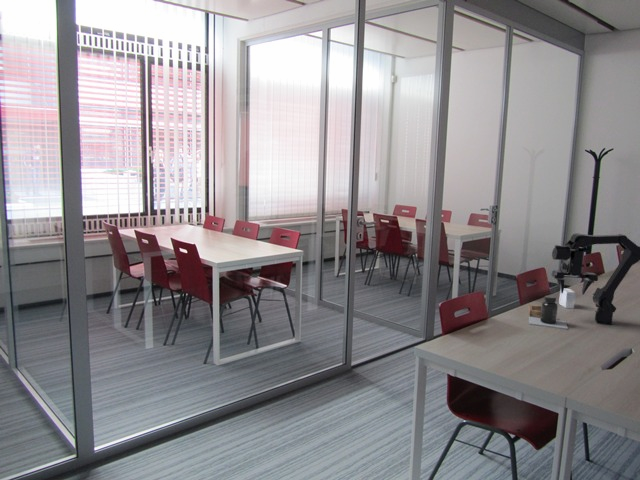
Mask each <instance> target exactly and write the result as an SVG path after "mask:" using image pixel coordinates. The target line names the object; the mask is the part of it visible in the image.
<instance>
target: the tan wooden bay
mask: <svg viewBox="0 0 640 480" xmlns="http://www.w3.org/2000/svg"><path fill="white" fill-rule="evenodd" d="M541 306H542V305H535V304H529V306H528V315H529V316H528V317H536V318H540V317H541Z"/></svg>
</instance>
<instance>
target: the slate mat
mask: <svg viewBox="0 0 640 480" xmlns="http://www.w3.org/2000/svg"><path fill="white" fill-rule="evenodd" d="M528 324H529V325H532V326H539V327H546V328H555V329H562V330H569V328H568V325H567V321H565V320H556V323H555V324H546V323H543V322H541V321H540V318H537V317H530V316H528Z"/></svg>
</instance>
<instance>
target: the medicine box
mask: <svg viewBox="0 0 640 480" xmlns="http://www.w3.org/2000/svg"><path fill="white" fill-rule="evenodd" d="M559 289H560V288H559ZM575 300H576V291H574V290H572V289H570V288H565V287H564V290H563V293H561V289H560V290H559V298H558V304H559V305H561V307H563V308H565V309H574V308H575Z"/></svg>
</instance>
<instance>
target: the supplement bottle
mask: <svg viewBox="0 0 640 480" xmlns="http://www.w3.org/2000/svg"><path fill="white" fill-rule="evenodd" d="M540 306H541V317H540V321H541V322H543V323H546V324H555V323H556V320H557V317H558V309H559V307H558V306H559V305H558V302H557V297H556V296H553V295H545V296H544V299H543V301H542V302H541V305H540Z"/></svg>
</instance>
